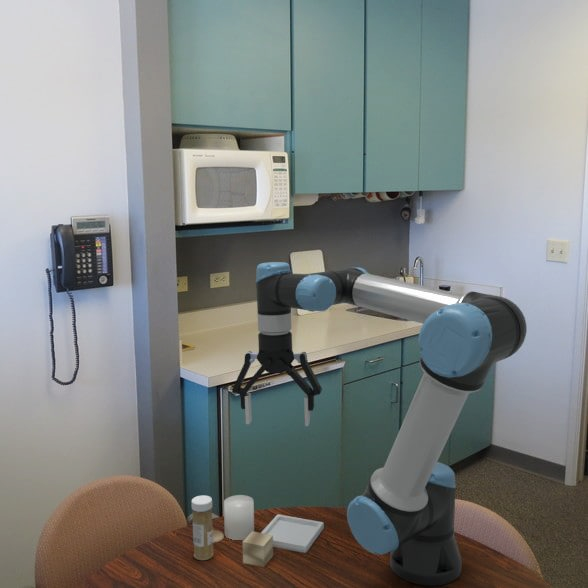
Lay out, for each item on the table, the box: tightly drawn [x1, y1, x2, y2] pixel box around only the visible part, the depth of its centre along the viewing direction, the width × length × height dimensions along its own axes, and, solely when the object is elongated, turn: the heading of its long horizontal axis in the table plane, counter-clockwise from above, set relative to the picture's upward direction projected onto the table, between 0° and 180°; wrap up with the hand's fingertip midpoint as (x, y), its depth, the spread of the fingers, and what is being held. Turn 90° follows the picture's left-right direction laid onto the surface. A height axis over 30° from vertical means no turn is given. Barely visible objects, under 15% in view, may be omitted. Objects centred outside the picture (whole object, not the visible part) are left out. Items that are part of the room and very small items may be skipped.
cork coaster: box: [213, 529, 225, 544], centre depth 162 cm, size 5×5×1 cm
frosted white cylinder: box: [223, 494, 255, 541], centre depth 164 cm, size 8×7×8 cm
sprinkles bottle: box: [191, 495, 215, 561], centre depth 153 cm, size 5×5×14 cm
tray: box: [260, 513, 325, 554], centre depth 162 cm, size 12×12×2 cm
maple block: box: [242, 531, 274, 568], centre depth 152 cm, size 5×5×5 cm
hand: (277, 423), depth 157 cm, fingers open, 13 cm apart
